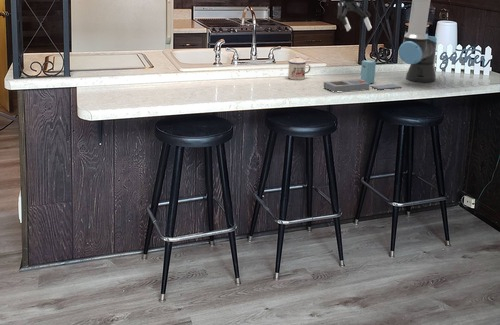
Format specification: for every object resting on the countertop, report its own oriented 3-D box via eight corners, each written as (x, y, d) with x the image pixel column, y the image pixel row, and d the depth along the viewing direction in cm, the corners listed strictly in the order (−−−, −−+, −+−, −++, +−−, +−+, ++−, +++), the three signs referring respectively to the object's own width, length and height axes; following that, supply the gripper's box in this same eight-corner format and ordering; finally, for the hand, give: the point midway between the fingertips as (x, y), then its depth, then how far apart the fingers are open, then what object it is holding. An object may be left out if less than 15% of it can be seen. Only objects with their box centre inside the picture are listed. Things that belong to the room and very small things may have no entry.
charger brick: (368, 81, 334) (370, 60, 331) (374, 83, 330) (375, 61, 326) (360, 82, 332) (361, 60, 328) (365, 84, 328) (367, 62, 324)
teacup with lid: (290, 80, 332) (291, 57, 328) (285, 76, 340) (286, 54, 336) (312, 79, 335) (314, 57, 331) (307, 76, 343) (308, 54, 339)
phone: (392, 86, 327) (392, 84, 327) (401, 89, 321) (401, 86, 321) (369, 88, 321) (370, 86, 321) (378, 91, 315) (378, 89, 315)
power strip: (357, 85, 325) (357, 78, 324) (369, 89, 317) (369, 82, 316) (323, 88, 317) (323, 81, 316) (334, 92, 309) (334, 85, 307)
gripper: (360, -1, 346) (374, 32, 339) (322, -1, 334) (336, 34, 327) (368, -10, 340) (382, 24, 333) (329, -10, 328) (343, 25, 321)
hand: (359, 29), depth 330 cm, fingers open, 13 cm apart
